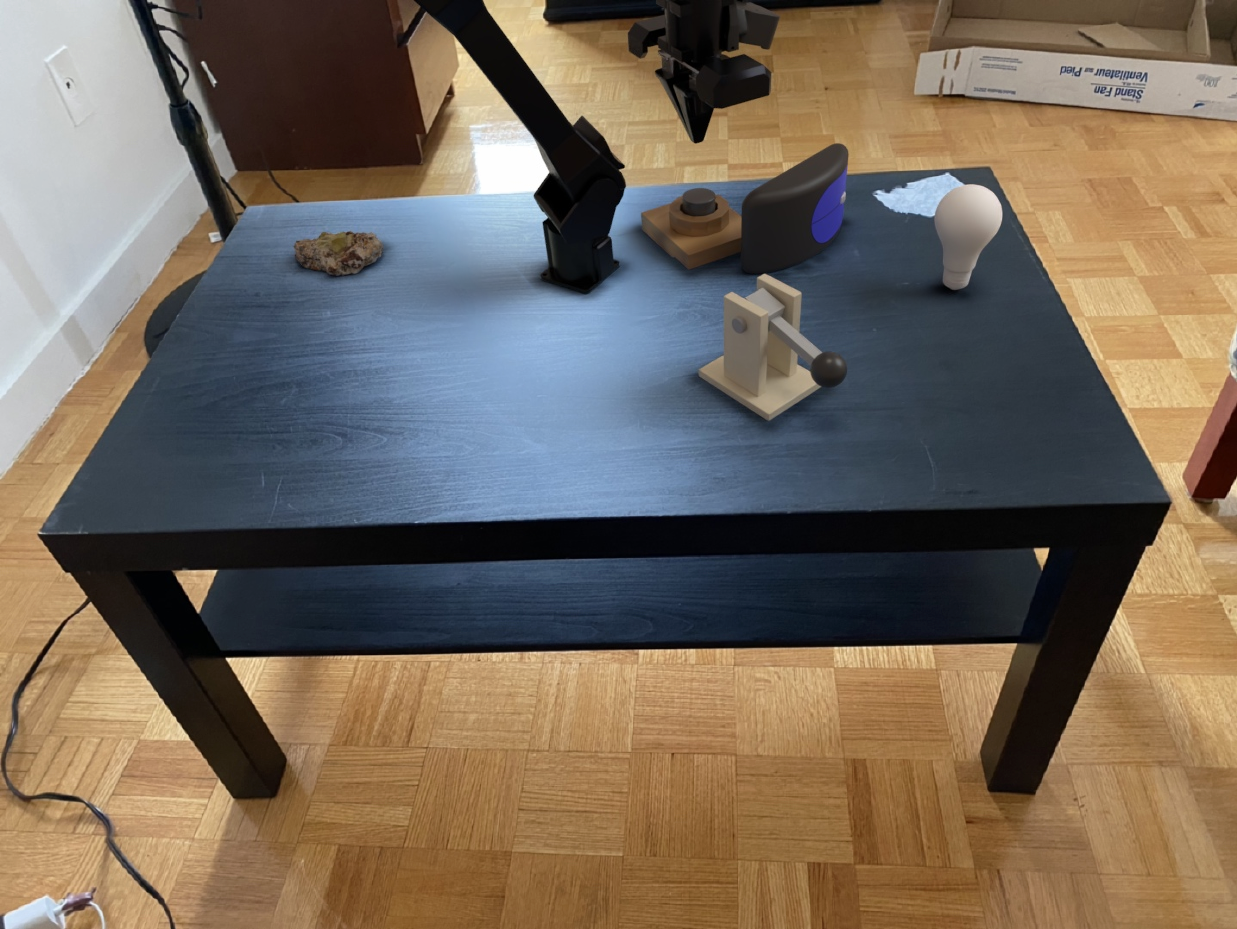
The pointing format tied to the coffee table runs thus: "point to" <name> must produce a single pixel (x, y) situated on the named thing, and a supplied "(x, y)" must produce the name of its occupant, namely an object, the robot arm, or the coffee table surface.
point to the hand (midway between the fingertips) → (697, 141)
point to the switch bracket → (760, 354)
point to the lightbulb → (965, 230)
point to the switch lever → (801, 343)
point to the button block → (694, 232)
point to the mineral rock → (339, 252)
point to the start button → (698, 202)
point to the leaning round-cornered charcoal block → (794, 213)
